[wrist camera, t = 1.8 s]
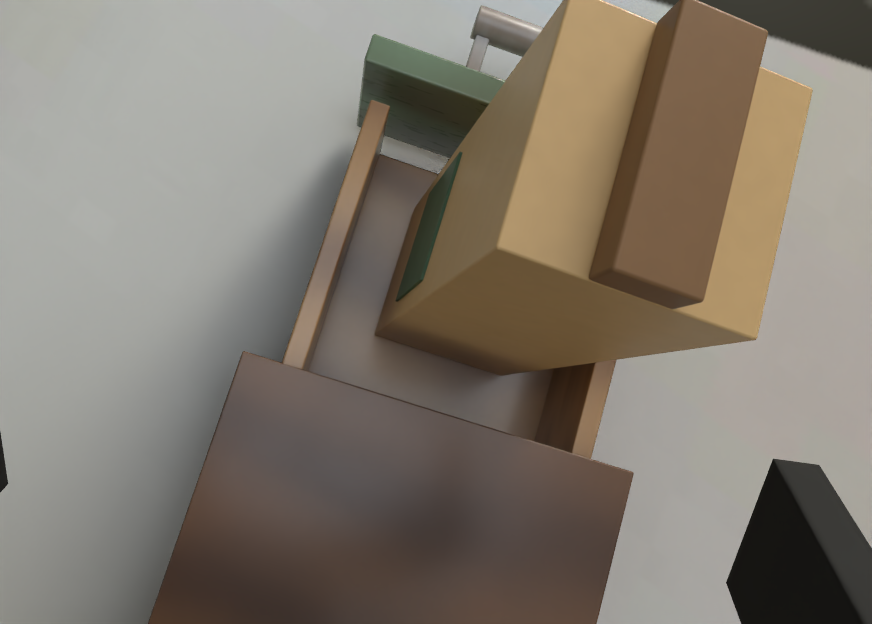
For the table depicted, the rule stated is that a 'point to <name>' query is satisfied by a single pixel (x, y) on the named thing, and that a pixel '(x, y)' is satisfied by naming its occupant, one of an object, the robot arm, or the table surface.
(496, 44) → the drawer
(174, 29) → the table surface
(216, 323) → the table surface
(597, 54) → the coffee bag
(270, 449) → the cabinet
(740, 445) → the table surface
